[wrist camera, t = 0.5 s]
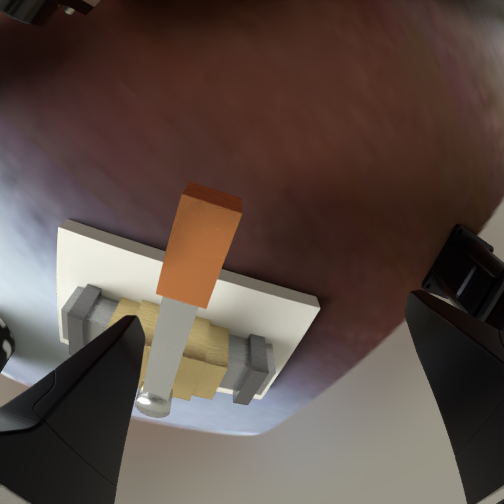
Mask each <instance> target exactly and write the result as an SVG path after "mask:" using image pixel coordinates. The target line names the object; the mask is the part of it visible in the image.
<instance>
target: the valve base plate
mask: <svg viewBox="0 0 504 504" xmlns="http://www.w3.org/2000/svg"><path fill="white" fill-rule="evenodd" d="M165 253H166V251H163V250H160V249H156V248H153V247H150V246H147V245H144V244H141V243H138V242H135V241H132V240H129V239H126V238H123V237H119V236H116V235H113V234H110V233H107V232H104V231H101V230H98V229H95V228H92V227H90V226H87V225H84V224H81V223H78V222H75V221H72V220H69V219H67V220H66V221H65V222H64V223H63V224H61V225H60V226H59V227H58V242H57V307H58V323H59V336H60V342H62V343H65V344H67V345H69V341H68V340H67V339H64V338H63V332H62V316H61V309H62V307H63V306H64V305H65V303H66V302H67V300H68V299H69V297H70V296H71V295H72V293H73V292H74V290H75V289H76V288H77V286H79V287H81V288H84V289H85V287H86V286H87V284H90V285H93V286H96V287H98V288H101V289H102V291H101V295H103V296H106V297H109V298H111V299H114V300H117V301H120V300H121V298H122V297H124V298H127V299H130V300H133V301H136V302H139V303H141V302H142V300H146V301H149V302H152V303H155V304H158V305H161V301H162V297H163V296H161V295H158V294H156V290H157V285H158V281H159V277H160V273H161V269H162V265H163V261H164V257H165ZM319 310H320V306H319V303H318V300H317V297H315V296H312V295H308V294H305V293H301V292H298V291H294V290H291V289H288V288H284V287H281V286H277V285H274V284H270V283H267V282H264V281H260V280H257V279H254V278H250V277H247V276H243V275H240V274H237V273H234V272H230V271H227V270H224V269H221V271H220V273H219V276H218V279H217V281H216V284H215V287H214V290H213V292H212V295H211V298H210V300H209V303H208V306H207V309H204V308H200V307H199V308H198V310H197V313H196V316H198V317H202V318H205V319H209V320H210V323H209V324H212V325H216V326H219V327H223V328H227V329H229V334H230V335H234V336H238V337H242V338H246V339H248V337H249V335H250V334H254V335H258V336H263V337H265V343H267V344H272V345H273V353H274V360H275V368H276V374H275V375H274V377H273V378H272V380H271V381H270V382H269V384H268V385H267V387H266V388H265V390H264V391H263V393H262V394H261V395H257V394H255V395H254V397H253V398H255V399H262V397H263V396H264V394H265V393H266V391H267V390H268V389H269V387H270V386H271V384H272V383H273V381H274V380H275V378H276V377H277V376H278V374H279V373H280V371H281V370H282V368H283V367H284V365H285V364H286V362H287V361H288V359H289V358H290V356H291V355H292V353H293V351H294V350H295V348H296V347H297V345H298V344H299V342H300V341H301V339H302V337H303V336H304V334H305V333H306V331H307V330H308V328H309V326H310V325H311V323H312V321H313V320H314V318H315V317H316V315H317V313H318V312H319ZM216 391H219V392H223V393H228V394H233V390H230V389H226V388H221V387H218V388H217V390H216Z"/></svg>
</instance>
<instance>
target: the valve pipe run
mask: <svg viewBox="0 0 504 504" xmlns="http://www.w3.org/2000/svg"><path fill="white" fill-rule="evenodd" d="M101 291H102V289H101V288H98V287H96V286H93V285H90V284H87V286H86V287H85V289H84V288H81V287H79V286H77V288H76V289H75V290H74V292H73V293H72V295H71V296H70V297H69V299H68V300H67V302H66V303H65V305H64V306H63V307H62V309H61V316H62V332H63V338H64V339H67V340H68V341H69V354H70V355H73V354H75V353H76V352H77V351H79V350H80V349H81V348H83V347H84V346H85V345H87V344H88V343H89V342H90V341H92V340H93V339H94V338H96V337H97V336H98V335H100V334H101V333H102V332H104V331H105V330H106V329H108V328H109V327H110V326H112V325H113V324H114V323H116V322H117V321H118V320H120V319H121V318H122V317H124V316H125V315H137V316H138V317H139V320H140V322H141V325H142V328H143V330H144V333H145V346H144V353H143V360H142V367H141V374H140V380H139V384H138V387H140V383H141V382H142V381H143V380H145V374H146V369H147V364H148V359H149V354H150V350H151V345H152V340H153V336H154V331H155V327H156V322H157V318H158V314H159V310H160V305H158V304H155V303H152V302H149V301H146V300H142V302H141V303H139V302H136V301H133V300H130V299H127V298H124V297H122V298H121V300H120V301H117V300H114V299H111V298H109V297H106V296H103V295H101ZM209 323H210V320H209V319H205V318H202V317H198V316H195V319H194V322H193V325H192V328H191V331H190V334H189V337H188V340H187V343H186V346H185V349H184V352H183V355H182V358H181V361H180V364H179V367H178V371H177V374H176V377H175V380H174V383H173V386H172V390H173V395H172V397H176V398H180V399H184V400H188V401H189V400H190V398H191V396H192V395H193V396H198V397H202V398H206V399H211V400H212V398H213V396H214V394H215V392H216V390H217V388H218V387H221V388H226V389H230V390H233V403H238V404H243V405H248V404H249V403H250V401H251V400H252V398H253V397H254V395H255V394H257V395H261V394H262V393H263V391H264V390H265V388H266V387H267V385H268V384H269V382H270V381H271V380H272V378H273V377H274V375H275V374H276V368H275V360H274V353H273V345H272V344H267V343H265V337H263V336H258V335H254V334H250V335H249V337H248V339H246V338H242V337H238V336H234V335H230V334H229V329H227V328H223V327H219V326H216V325H212V324H209Z"/></svg>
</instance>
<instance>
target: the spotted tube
mask: <svg viewBox="0 0 504 504" xmlns="http://www.w3.org/2000/svg"><path fill="white" fill-rule="evenodd" d="M14 350H15V343H14V339H13V337H12V335H11V332H10V331H9V329H8V327H7V326H6V324H5V323H4V322H3V320H2V319H1V318H0V373H1V371H2V370H3V368H4V366H5V365H6V363H7V361H8V360H9V358H10V357H11V355H12V354H13V352H14Z"/></svg>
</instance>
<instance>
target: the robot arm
mask: <svg viewBox="0 0 504 504" xmlns="http://www.w3.org/2000/svg"><path fill="white" fill-rule="evenodd" d="M458 230H459V231H458ZM493 250H494V249H493V247H492V246H491V245H489V244H488V243H487V242H485V241H484V240H482V239H481V238H479V237H478V236H477V235H475V234H474V233H472V232H471V231H469V230H468V229H466V228H465V227H463V226H462V225H460V224H457V225H456V226H455V227H454V229H453V231H452V232H451V234H450V236H449V238H448V240H447V242H446V244H445V245H444V247H443V249H442V251H441V252H440V254H439V256H438V258H437V259H436V261H435V263H434V265H433V266H432V268H431V270H430V271H429V273H428V274H427V276H426V278H425V279H424V281H423V283H422V288H423V289H424V290H425V291H427V292H430V293H433V294H435V295H438V296H441V297H444V298H446V299H449V300H450V301H451V303H452V304H453V305H454V306H455V307H454V306H452V305H450V304H448V303H446V302H445V301H443V300H441V299H439V298H437V297H435V296H433V295H431V294H429V293H427V292H425V291H423V290H414V291H411V292H410V293H409V295H408V300H407V304H406V309H405V318H406V321H407V323H408V327H409V330H410V333H411V336H412V339H413V342H414V346H415V349H416V352H417V354H418V357H419V359H420V362H421V364H422V366H423V369H424V371H425V374H426V376H427V379H428V381H429V384H430V386H431V389H432V391H433V394H434V397H435V399H436V401H437V404H438V407H439V410H440V413H441V415H442V418H443V421H444V424H445V427H446V430H447V433H448V436H449V439H450V442H451V445H452V449H453V452H454V455H455V459H456V462H457V466H458V469H459V473H460V476H461V480H462V484H463V488H464V492H465V496H466V501H467V504H478V503H480V502H481V501H483V500H485V499H487V498H488V497H490V496H492V495H493V494H495V493H497V492H498V491H500V490H501V489H503V488H504V262H502V261H501V260H500V259H499V258H498V257H496V256H495V255H494V254H493ZM427 284H428V285H427ZM426 285H427V286H426ZM144 346H145V333H144V330H143V328H142V325H141V322H140V320H139V317H138V316H137V315H125V316H124V317H122V318H121V319H120V320H118V321H117V322H116V323H114V324H113V325H112V326H110V327H109V328H108V329H106V330H105V331H104V332H102V333H101V334H100V335H98V336H97V337H96V338H94V339H93V340H92V341H90V342H89V343H88V344H87V345H85V346H84V347H83V348H81V349H80V350H79V351H77V352H76V353H75V354H73V355H72V356H71V357H70V358H68V359H67V360H66V361H64V362H63V363H62V364H61V365H59V366H58V367H57V368H55V370H53V371H51V372H50V373H49V374H48V375H46V376H45V377H44V378H42V379H41V380H40V381H38V382H37V383H36V384H34V385H33V386H31V387H30V388H28V389H27V390H26V391H24V392H23V393H21V394H20V395H18V396H17V397H15V398H14V399H12V400H11V401H9V402H8V403H6V404H5V405H3V406H2V407H0V504H114V502H115V496H116V490H117V483H118V477H119V471H120V466H121V461H122V455H123V450H124V445H125V441H126V436H127V431H128V426H129V422H130V418H131V413H132V409H133V405H134V400H135V396H136V392H137V388H138V384H139V380H140V374H141V367H142V360H143V353H144ZM497 504H504V499H503V500H501V501H500V502H498V503H497Z"/></svg>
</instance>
